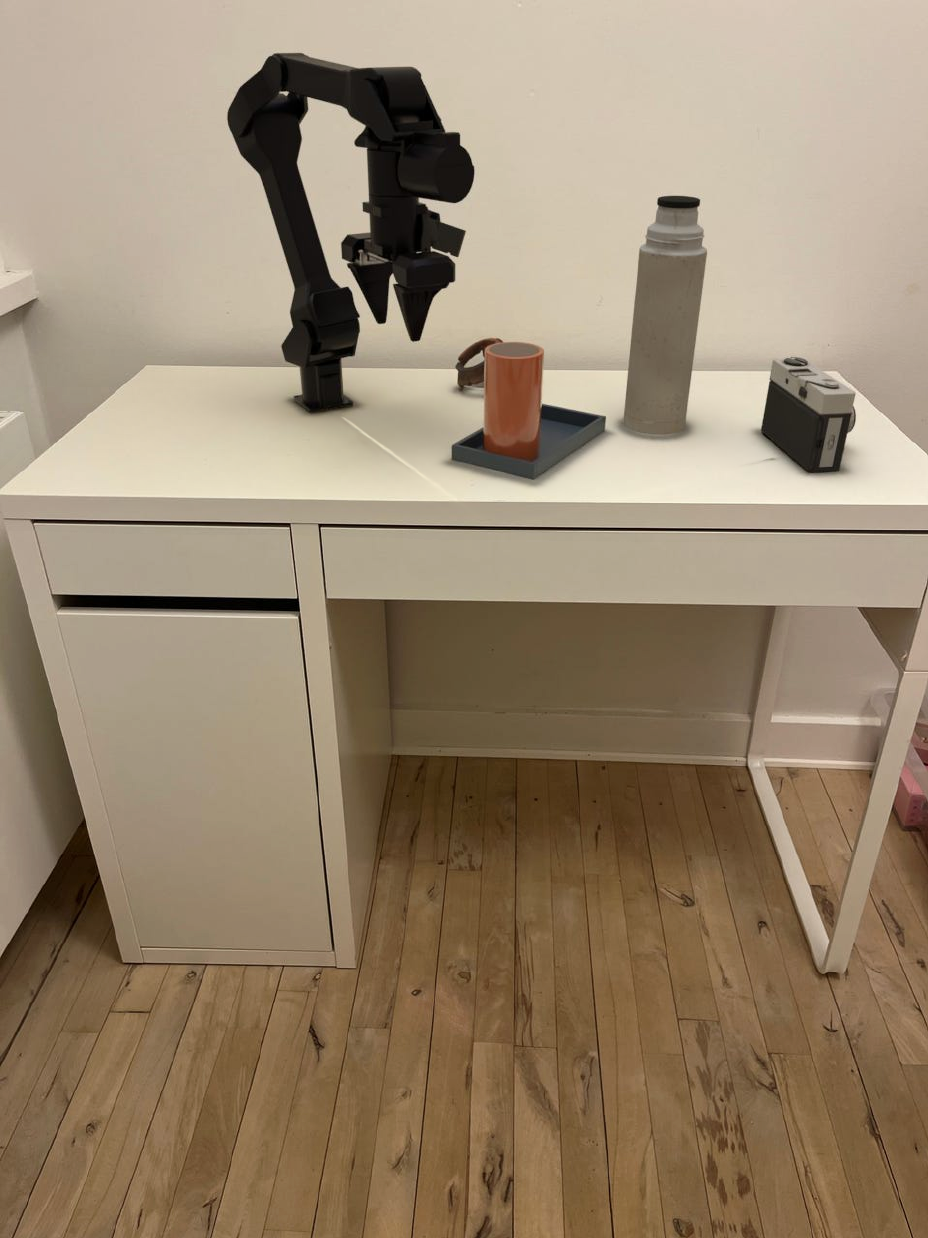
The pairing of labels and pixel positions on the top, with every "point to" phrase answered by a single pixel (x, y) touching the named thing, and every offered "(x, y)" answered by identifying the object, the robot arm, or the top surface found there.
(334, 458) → the top surface
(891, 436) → the top surface
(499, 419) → the tumbler
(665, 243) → the thermos bottle
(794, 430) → the camera
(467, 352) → the brown curved loop
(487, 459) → the tray
